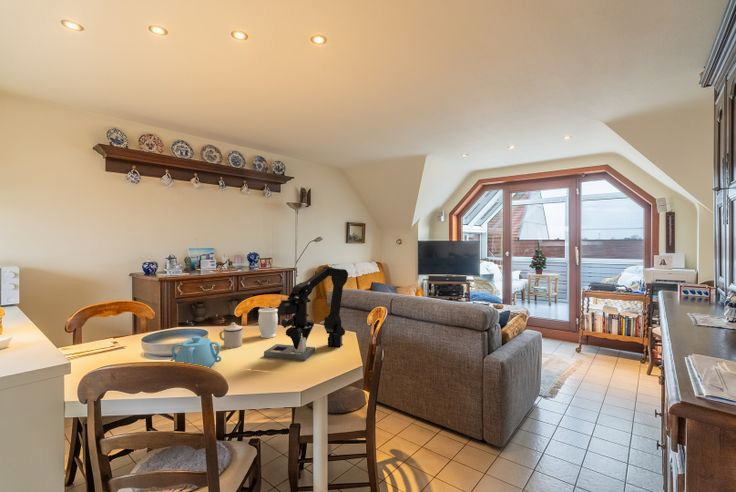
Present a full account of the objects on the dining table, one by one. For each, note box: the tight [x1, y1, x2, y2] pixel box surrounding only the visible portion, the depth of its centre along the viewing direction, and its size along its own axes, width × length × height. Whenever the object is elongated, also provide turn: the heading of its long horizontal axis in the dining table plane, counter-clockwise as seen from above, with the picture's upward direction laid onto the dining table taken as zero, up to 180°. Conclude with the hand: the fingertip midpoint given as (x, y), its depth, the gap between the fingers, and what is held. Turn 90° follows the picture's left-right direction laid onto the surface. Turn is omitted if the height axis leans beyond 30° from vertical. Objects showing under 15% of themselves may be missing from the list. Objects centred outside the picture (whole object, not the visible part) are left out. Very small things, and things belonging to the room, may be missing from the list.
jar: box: [258, 307, 279, 339], centre depth 191 cm, size 11×10×15 cm
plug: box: [294, 337, 307, 353], centre depth 158 cm, size 5×4×8 cm
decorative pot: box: [169, 335, 222, 369], centre depth 141 cm, size 16×16×14 cm
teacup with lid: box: [219, 322, 244, 349], centre depth 174 cm, size 12×9×12 cm
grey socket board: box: [263, 343, 316, 362], centre depth 159 cm, size 20×12×3 cm, turn 78°
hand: (300, 346), depth 158 cm, fingers open, 9 cm apart
